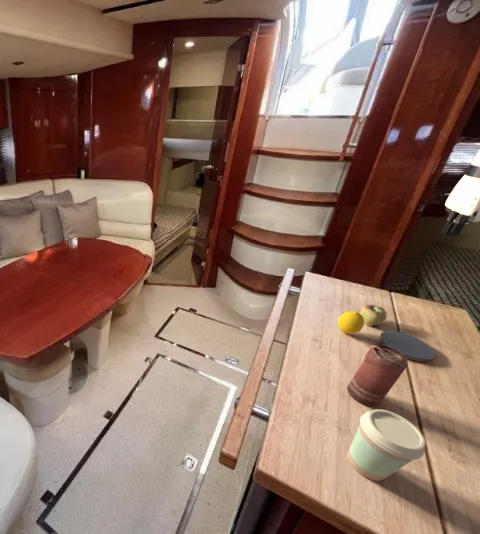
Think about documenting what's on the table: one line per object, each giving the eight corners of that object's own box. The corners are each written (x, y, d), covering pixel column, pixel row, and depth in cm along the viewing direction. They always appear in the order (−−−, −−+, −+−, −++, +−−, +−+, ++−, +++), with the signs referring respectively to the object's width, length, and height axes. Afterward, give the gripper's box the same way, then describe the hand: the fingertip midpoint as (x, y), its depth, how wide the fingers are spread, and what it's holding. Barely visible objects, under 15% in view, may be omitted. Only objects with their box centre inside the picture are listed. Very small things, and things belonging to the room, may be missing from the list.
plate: (415, 337, 89) (417, 334, 88) (442, 366, 80) (445, 362, 79) (370, 331, 92) (372, 327, 91) (391, 358, 82) (394, 354, 82)
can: (348, 380, 77) (374, 339, 70) (381, 397, 72) (412, 354, 65) (341, 394, 73) (367, 352, 66) (375, 412, 69) (407, 369, 62)
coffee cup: (394, 462, 60) (428, 425, 54) (394, 500, 54) (432, 464, 48) (340, 434, 65) (366, 398, 59) (335, 466, 59) (362, 430, 53)
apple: (383, 320, 96) (392, 305, 93) (378, 332, 91) (388, 317, 88) (359, 311, 100) (367, 297, 97) (353, 322, 95) (362, 308, 92)
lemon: (332, 324, 95) (343, 304, 91) (355, 330, 92) (367, 309, 88) (334, 335, 91) (345, 314, 87) (358, 342, 88) (370, 320, 84)
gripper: (532, 180, 76) (486, 246, 85) (481, 167, 88) (446, 226, 97) (493, 179, 78) (452, 243, 87) (449, 167, 90) (417, 224, 99)
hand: (449, 234), depth 92 cm, fingers closed
